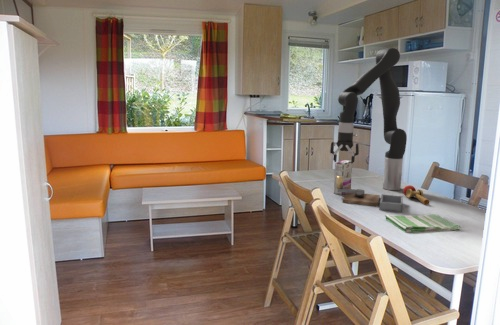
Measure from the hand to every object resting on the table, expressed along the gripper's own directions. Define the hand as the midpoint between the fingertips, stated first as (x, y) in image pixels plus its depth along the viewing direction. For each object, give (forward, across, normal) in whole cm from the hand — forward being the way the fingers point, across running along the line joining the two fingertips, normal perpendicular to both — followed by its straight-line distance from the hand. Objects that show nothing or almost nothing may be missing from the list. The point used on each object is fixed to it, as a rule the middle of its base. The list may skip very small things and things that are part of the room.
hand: (343, 162), depth 209 cm
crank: (+14, -6, +12) cm, 19 cm away
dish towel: (+17, -37, +40) cm, 57 cm away
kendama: (+16, -36, 0) cm, 40 cm away
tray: (+16, -25, +18) cm, 35 cm away
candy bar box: (+16, 0, 0) cm, 16 cm away
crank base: (+16, -11, +12) cm, 23 cm away
